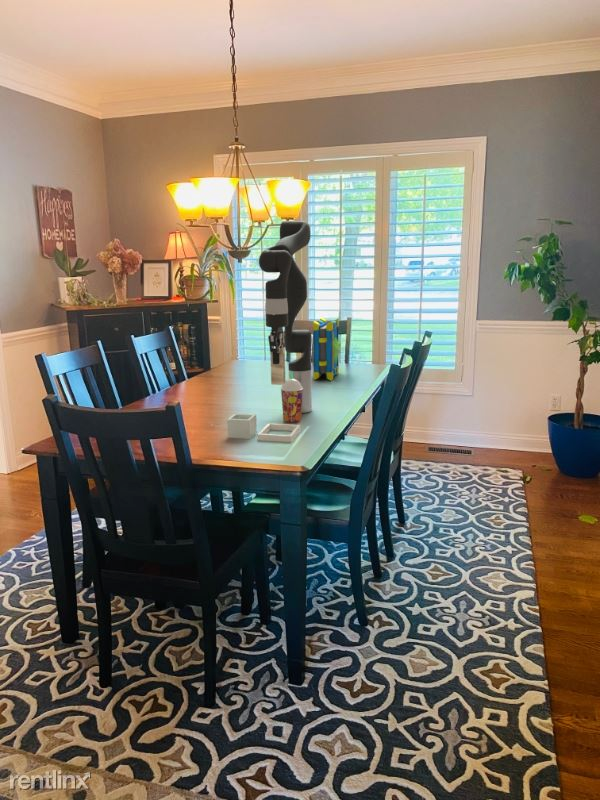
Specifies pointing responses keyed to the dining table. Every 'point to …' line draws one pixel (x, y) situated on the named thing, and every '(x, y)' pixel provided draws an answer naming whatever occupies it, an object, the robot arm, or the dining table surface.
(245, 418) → the white open box
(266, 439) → the plastic tray
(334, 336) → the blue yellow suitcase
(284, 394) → the smoothie
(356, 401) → the dining table surface
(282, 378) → the birch peg
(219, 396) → the dining table surface
